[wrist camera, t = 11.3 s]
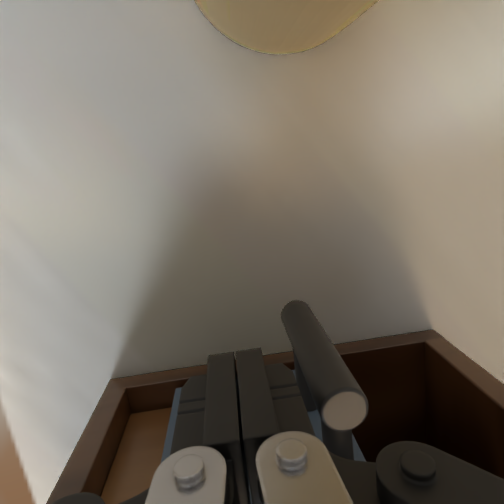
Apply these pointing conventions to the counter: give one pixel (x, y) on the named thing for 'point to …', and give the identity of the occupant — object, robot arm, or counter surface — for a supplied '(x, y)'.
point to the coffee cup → (282, 21)
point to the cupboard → (353, 354)
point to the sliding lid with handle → (314, 385)
